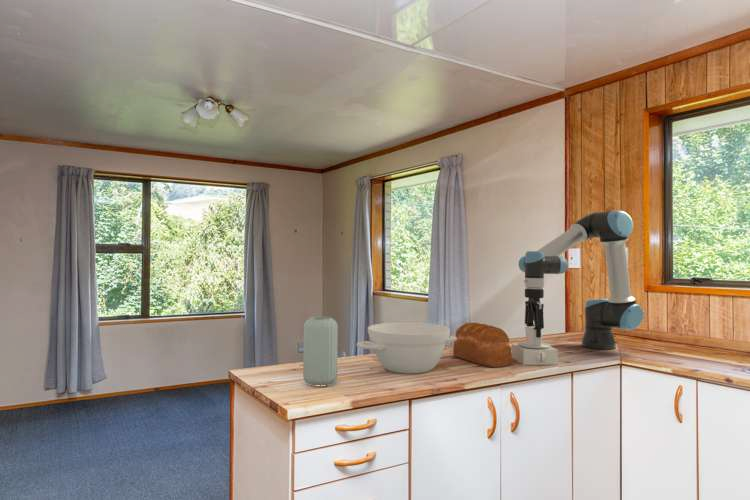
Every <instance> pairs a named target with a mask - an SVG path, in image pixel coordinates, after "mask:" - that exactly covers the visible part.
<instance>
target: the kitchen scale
mask: <svg viewBox="0 0 750 500" xmlns="http://www.w3.org/2000/svg"><path fill="white" fill-rule="evenodd" d="M558 350H559V349H558V348H555V347H553V346H551V344H550V343H547V342H542V341H541V345H528V344H527V341H526V340H525V341H518V342H517V343H511V354H512V360H515V361H516V362H517V363H519V364H521V363H522V364H521V365H523V366H534V365H535V366H545V365H547V366H548V365H550V366H551V365H555V366H556V365H558V364H559V363H558V361H559V360H558V358H559V357H558V356H559V355H558V353H559V351H558Z"/></svg>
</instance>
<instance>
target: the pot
mask: <svg viewBox="0 0 750 500" xmlns="http://www.w3.org/2000/svg"><path fill="white" fill-rule="evenodd" d="M367 334H368V336H369V339H370V340H371V341H369V340H367V341H365V340H364V341H359V342H358V341H357V343H356V347H357V348H359V349H365V350H374V354H375V355H376V358H377V359H378V362H379V363H380V364H381V366H383V368H384V369H386V370H387V371H389V372H390V373H394V372H395V373H396V374H401V373H402V374H401V375H403V374H405V375H417V374H425V373H429V372H431V370H433V369H434V368H435V367H436V366H437V365H438V363H439V361H440V359H441V358H442V355H443V353H444V351H445V347H446V344H451V343H452V342H454V341H456V340H457V337H456V335H455V336H454V335H451V328H450V327H449V326H446V325H442V324H437V323H428V322H427V323H426V322H413V321H412V322H411V321H410V322H397V321H396V322H383V323H376V324H371V325H368V326H367Z"/></svg>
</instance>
